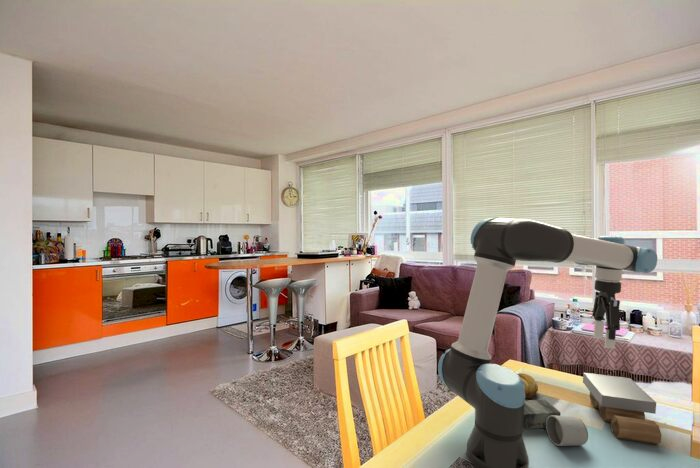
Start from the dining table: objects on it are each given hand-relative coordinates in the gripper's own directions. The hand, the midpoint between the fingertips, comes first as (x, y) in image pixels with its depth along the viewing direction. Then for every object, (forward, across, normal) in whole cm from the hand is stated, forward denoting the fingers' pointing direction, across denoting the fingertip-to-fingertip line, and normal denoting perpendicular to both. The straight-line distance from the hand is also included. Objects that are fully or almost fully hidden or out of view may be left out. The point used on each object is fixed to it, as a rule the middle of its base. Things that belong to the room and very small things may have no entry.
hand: (603, 342), depth 126 cm
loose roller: (+20, -25, 0) cm, 32 cm away
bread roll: (+20, -7, +27) cm, 34 cm away
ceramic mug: (+20, -32, +21) cm, 43 cm away
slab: (+14, -12, 0) cm, 18 cm away
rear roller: (+20, -8, 0) cm, 21 cm away
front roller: (+20, -16, 0) cm, 25 cm away
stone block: (+20, -24, +28) cm, 42 cm away
